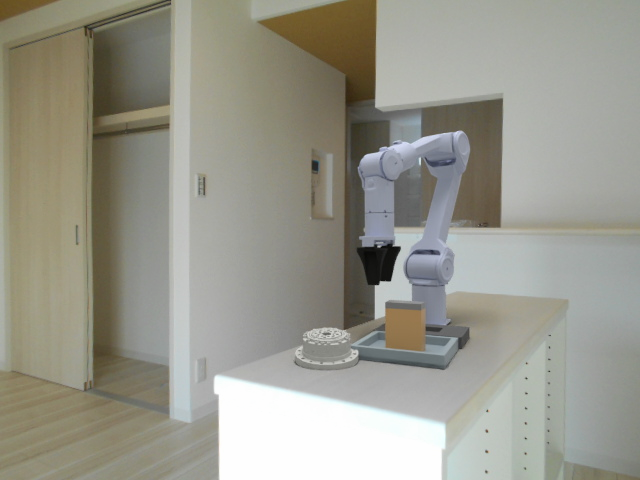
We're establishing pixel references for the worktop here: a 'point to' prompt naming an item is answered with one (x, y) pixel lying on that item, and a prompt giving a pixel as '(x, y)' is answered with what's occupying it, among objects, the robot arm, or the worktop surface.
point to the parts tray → (407, 351)
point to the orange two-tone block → (405, 325)
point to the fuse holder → (443, 332)
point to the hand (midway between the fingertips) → (379, 283)
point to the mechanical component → (326, 350)
